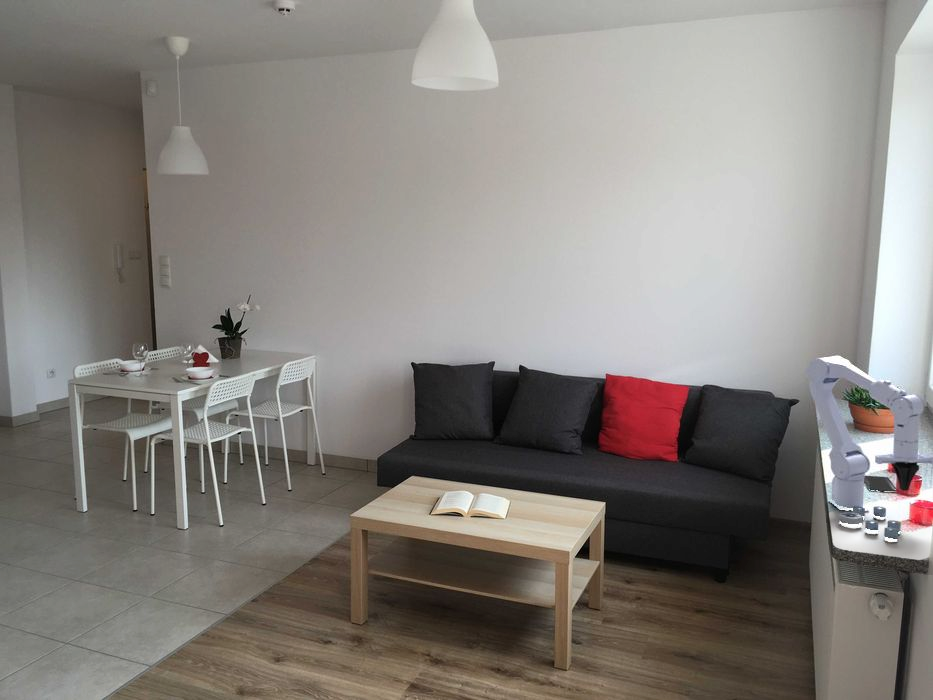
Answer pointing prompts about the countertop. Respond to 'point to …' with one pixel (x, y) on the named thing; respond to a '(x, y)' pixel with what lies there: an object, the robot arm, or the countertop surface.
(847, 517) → the hex nut
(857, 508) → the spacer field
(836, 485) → the robot arm
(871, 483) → the phone
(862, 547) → the countertop surface
